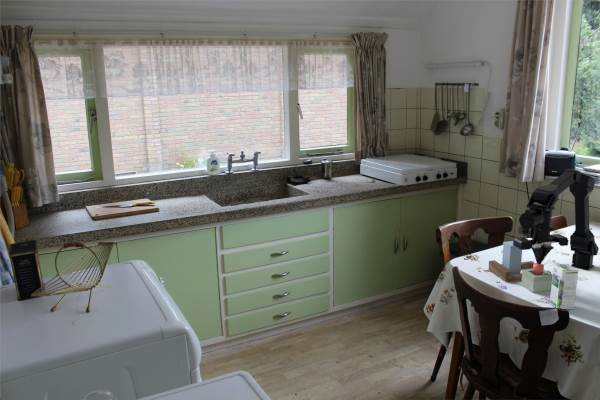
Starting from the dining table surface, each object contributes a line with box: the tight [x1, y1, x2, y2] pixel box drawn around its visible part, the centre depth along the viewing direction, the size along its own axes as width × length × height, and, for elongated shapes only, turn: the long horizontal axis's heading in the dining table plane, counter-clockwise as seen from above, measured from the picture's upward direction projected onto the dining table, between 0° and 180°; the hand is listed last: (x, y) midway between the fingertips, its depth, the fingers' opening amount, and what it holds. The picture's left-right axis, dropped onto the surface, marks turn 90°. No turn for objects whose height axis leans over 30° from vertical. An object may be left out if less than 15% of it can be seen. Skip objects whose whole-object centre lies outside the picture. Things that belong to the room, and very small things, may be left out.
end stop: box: [488, 260, 512, 283], centre depth 203 cm, size 2×12×4 cm, turn 10°
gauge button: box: [532, 262, 545, 274], centre depth 189 cm, size 4×4×3 cm
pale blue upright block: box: [501, 240, 523, 274], centre depth 202 cm, size 5×5×13 cm
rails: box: [500, 260, 552, 282], centre depth 204 cm, size 17×12×2 cm
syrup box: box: [549, 263, 579, 310], centre depth 174 cm, size 6×6×14 cm
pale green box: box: [520, 268, 553, 294], centre depth 190 cm, size 8×7×6 cm
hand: (538, 263), depth 189 cm, fingers closed
